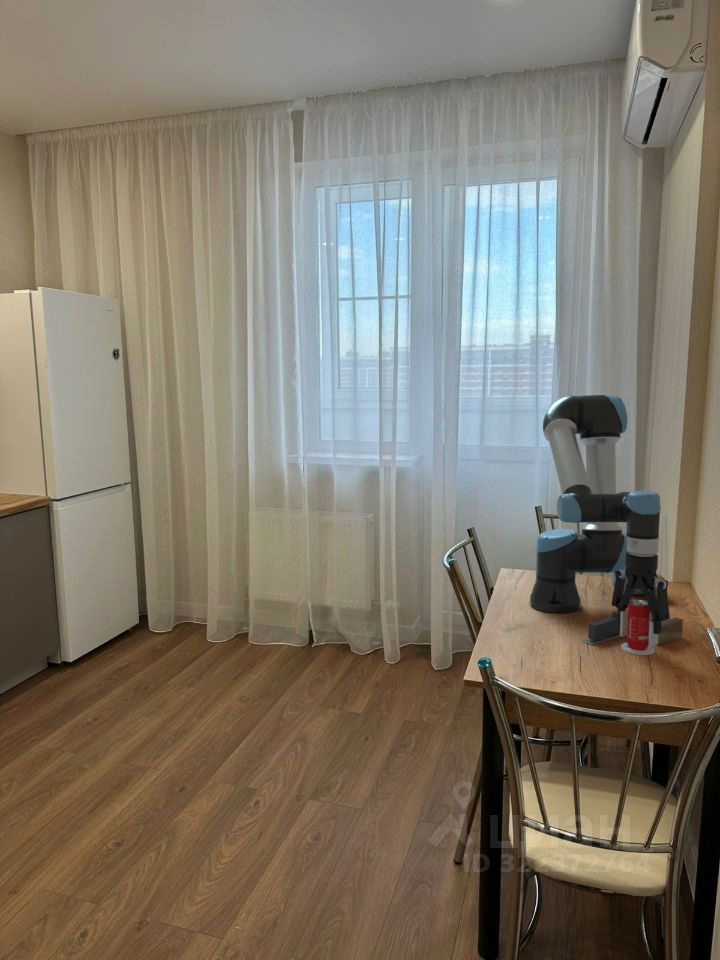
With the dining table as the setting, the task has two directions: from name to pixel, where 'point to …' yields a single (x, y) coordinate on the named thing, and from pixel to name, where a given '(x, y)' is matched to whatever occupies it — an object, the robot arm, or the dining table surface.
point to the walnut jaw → (670, 630)
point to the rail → (601, 639)
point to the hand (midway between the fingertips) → (638, 639)
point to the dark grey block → (604, 627)
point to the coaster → (646, 652)
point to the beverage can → (638, 625)
